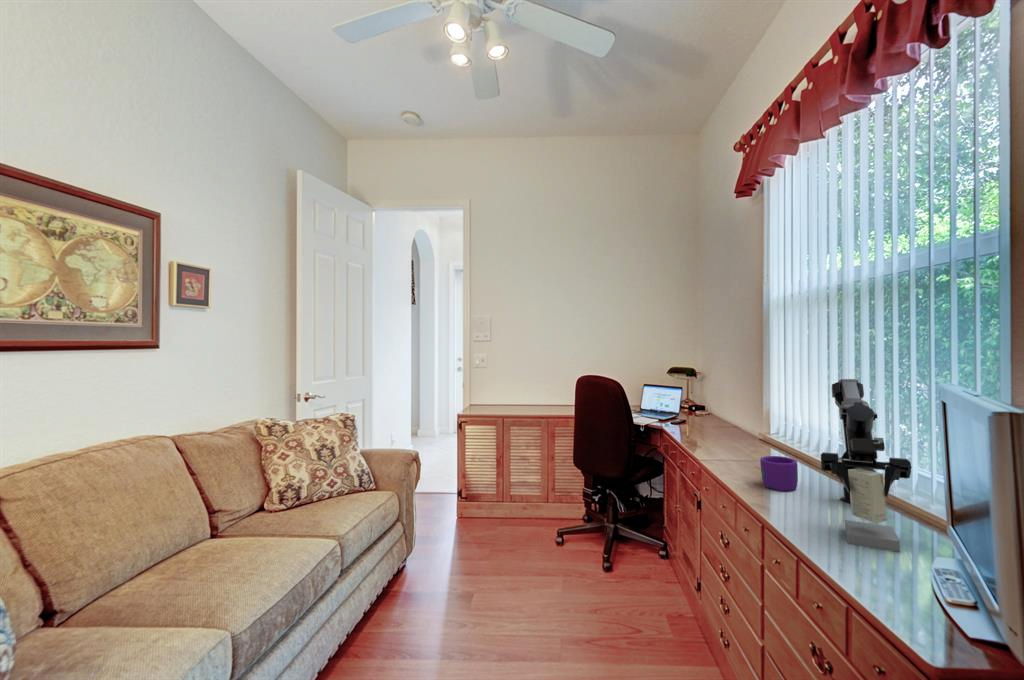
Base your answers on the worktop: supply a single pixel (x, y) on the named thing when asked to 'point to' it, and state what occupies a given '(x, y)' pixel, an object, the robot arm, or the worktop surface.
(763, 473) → the purple oval open container
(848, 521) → the flat gray square pad
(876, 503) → the skincare box
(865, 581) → the worktop surface
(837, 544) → the worktop surface
